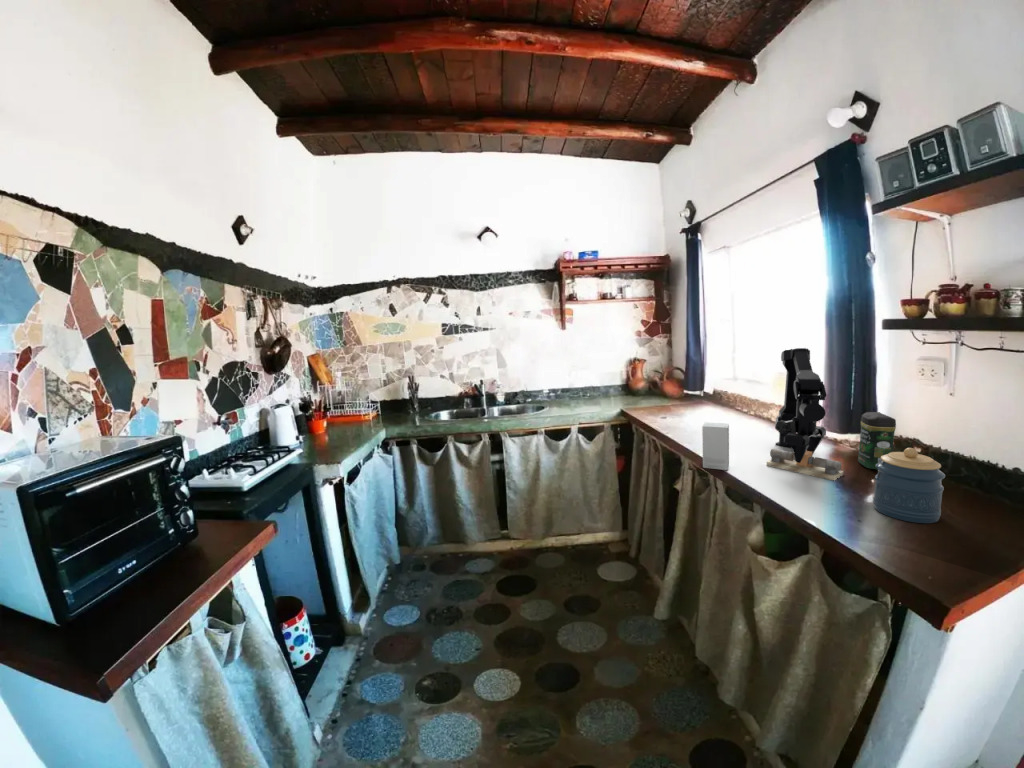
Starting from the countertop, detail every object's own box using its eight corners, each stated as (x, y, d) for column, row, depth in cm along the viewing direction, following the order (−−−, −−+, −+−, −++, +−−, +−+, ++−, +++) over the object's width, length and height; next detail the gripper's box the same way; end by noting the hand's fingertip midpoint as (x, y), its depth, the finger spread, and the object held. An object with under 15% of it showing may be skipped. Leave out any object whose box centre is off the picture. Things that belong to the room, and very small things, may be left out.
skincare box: (729, 465, 149) (730, 423, 146) (727, 471, 143) (728, 427, 141) (703, 462, 153) (704, 421, 151) (701, 467, 148) (702, 425, 145)
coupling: (792, 466, 142) (793, 452, 141) (798, 462, 144) (798, 449, 144) (809, 469, 138) (810, 455, 137) (814, 466, 140) (815, 452, 140)
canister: (880, 519, 106) (886, 453, 104) (866, 499, 117) (871, 439, 115) (950, 528, 100) (958, 458, 98) (928, 506, 111) (934, 443, 109)
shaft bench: (766, 465, 147) (767, 451, 146) (776, 460, 152) (777, 446, 151) (834, 480, 131) (835, 465, 130) (843, 474, 136) (844, 459, 135)
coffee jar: (853, 460, 147) (857, 410, 145) (881, 462, 145) (885, 410, 142) (866, 470, 138) (871, 416, 136) (896, 472, 136) (901, 416, 133)
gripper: (791, 407, 150) (789, 448, 153) (767, 415, 140) (765, 459, 142) (827, 411, 141) (825, 455, 144) (805, 421, 131) (803, 468, 133)
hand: (803, 459), depth 141 cm, fingers open, 9 cm apart
